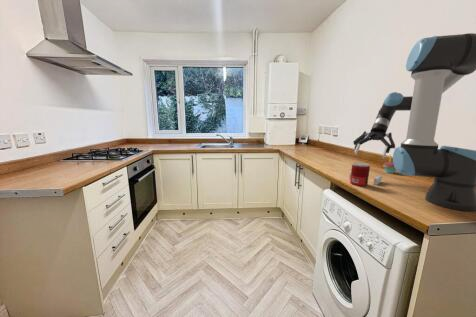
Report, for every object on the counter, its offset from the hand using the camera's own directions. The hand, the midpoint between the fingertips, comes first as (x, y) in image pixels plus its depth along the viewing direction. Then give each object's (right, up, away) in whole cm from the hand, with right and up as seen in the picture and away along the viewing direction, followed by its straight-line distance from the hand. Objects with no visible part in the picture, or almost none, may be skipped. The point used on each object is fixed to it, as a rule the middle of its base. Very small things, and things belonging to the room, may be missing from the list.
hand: (368, 155), depth 112 cm
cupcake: (+28, -11, +21) cm, 37 cm away
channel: (-1, -14, +2) cm, 14 cm away
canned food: (-9, -16, -5) cm, 18 cm away
